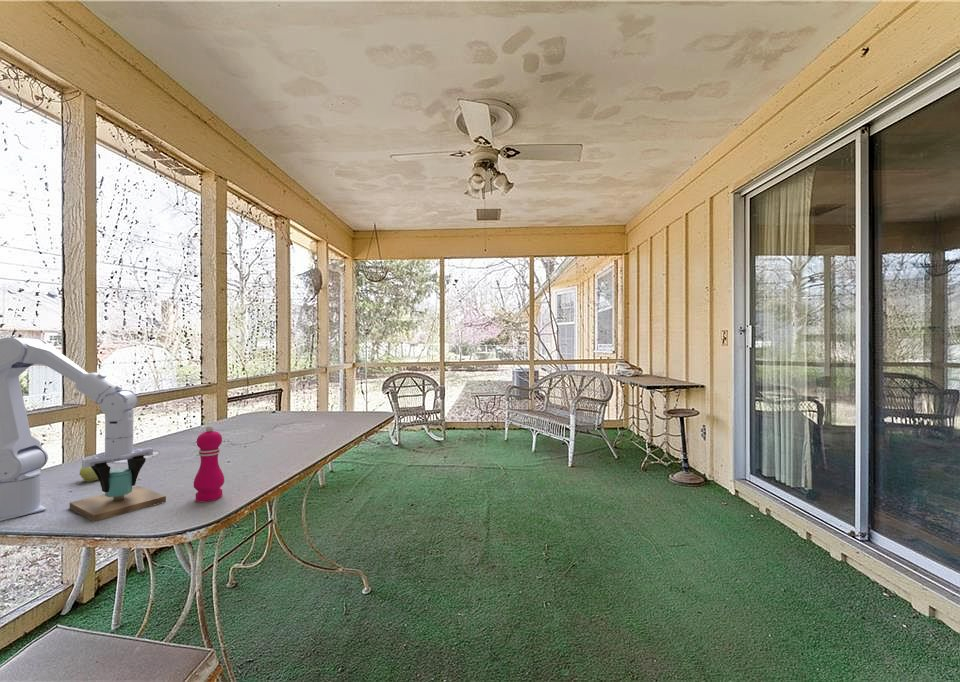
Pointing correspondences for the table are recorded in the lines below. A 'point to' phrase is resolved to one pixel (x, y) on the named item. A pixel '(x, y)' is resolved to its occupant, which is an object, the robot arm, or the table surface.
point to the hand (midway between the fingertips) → (118, 488)
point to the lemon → (88, 474)
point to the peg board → (116, 503)
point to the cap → (119, 483)
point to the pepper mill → (209, 467)
